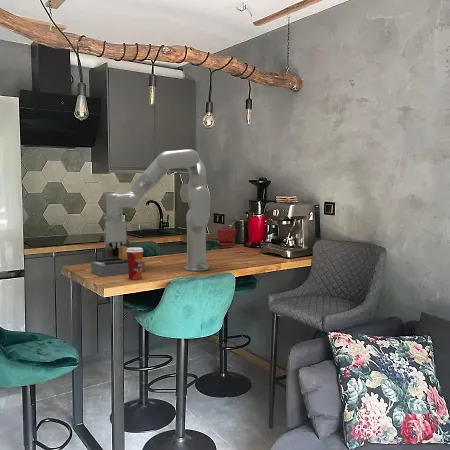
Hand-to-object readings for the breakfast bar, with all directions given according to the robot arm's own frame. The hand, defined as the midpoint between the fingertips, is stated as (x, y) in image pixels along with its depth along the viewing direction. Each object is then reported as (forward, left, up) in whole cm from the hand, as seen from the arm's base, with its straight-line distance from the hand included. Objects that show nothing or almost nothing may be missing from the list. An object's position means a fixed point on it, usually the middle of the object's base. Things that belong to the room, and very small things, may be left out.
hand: (115, 256), depth 224 cm
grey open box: (0, -1, -8) cm, 8 cm away
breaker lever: (0, -4, -4) cm, 6 cm away
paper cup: (-20, -1, -8) cm, 22 cm away
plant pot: (+53, -105, -8) cm, 118 cm away
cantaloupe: (+18, -9, -8) cm, 22 cm away
